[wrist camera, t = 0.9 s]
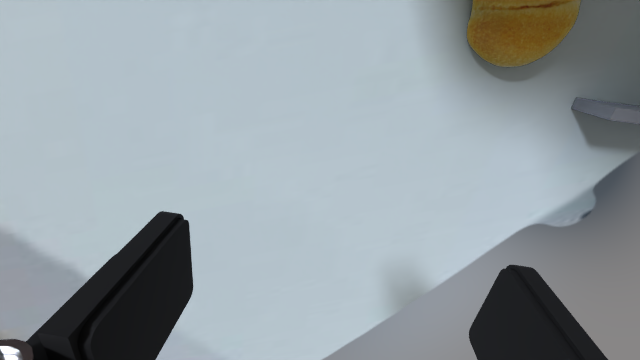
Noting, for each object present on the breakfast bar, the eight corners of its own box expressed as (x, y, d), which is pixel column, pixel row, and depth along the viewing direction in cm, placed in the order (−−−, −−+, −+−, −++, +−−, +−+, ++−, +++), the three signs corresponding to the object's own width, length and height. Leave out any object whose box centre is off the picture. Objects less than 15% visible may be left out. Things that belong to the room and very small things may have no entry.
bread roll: (457, 66, 28) (474, 70, 24) (476, -54, 24) (500, -71, 21) (552, 65, 27) (584, 69, 24) (587, -59, 24) (631, -77, 20)
